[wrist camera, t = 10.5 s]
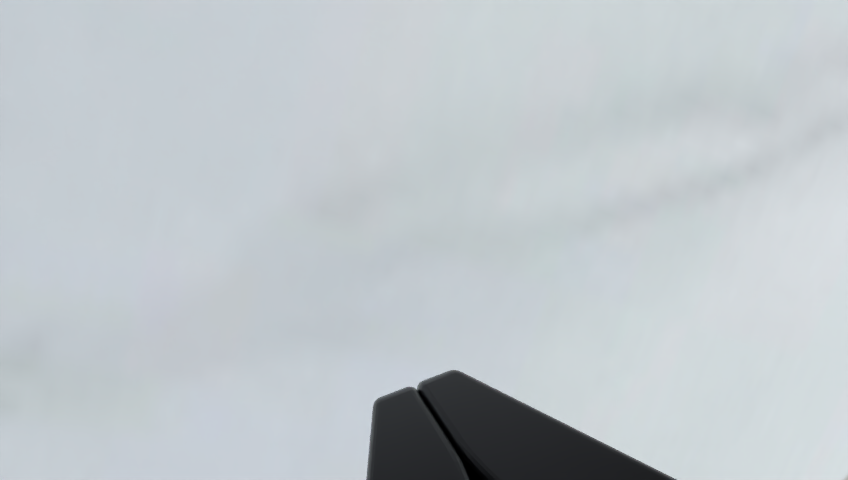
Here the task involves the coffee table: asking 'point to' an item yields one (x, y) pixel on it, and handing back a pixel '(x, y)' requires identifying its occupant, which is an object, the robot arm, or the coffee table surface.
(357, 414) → the coffee table surface
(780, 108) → the coffee table surface
